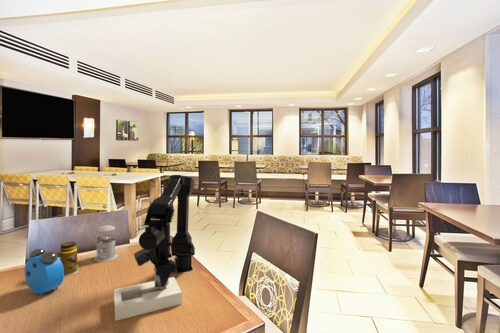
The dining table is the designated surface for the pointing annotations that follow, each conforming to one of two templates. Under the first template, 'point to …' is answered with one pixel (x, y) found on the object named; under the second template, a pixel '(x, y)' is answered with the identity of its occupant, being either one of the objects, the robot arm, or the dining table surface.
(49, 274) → the alarm clock
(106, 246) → the french press
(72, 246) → the condiment
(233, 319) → the dining table surface
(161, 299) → the keyhole board
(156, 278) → the keyhole peg
